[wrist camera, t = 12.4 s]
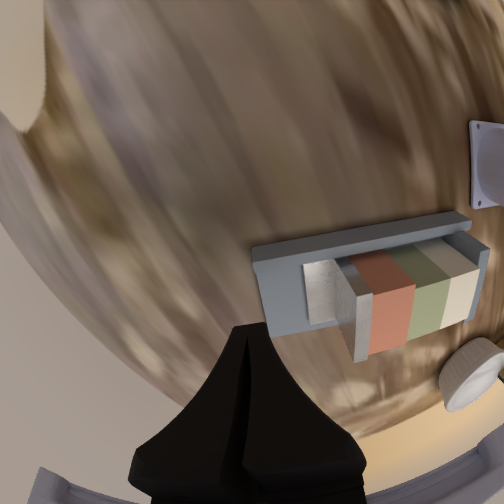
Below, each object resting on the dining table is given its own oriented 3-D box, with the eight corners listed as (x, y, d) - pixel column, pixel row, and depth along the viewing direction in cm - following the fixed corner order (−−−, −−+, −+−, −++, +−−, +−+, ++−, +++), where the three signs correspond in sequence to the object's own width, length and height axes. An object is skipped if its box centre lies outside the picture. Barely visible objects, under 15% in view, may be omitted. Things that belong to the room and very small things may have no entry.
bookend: (344, 252, 19) (373, 292, 14) (346, 312, 21) (367, 359, 16) (301, 260, 19) (318, 304, 14) (308, 320, 22) (322, 370, 17)
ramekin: (490, 315, 25) (512, 339, 20) (489, 356, 28) (504, 377, 24) (427, 365, 27) (444, 394, 22) (435, 396, 31) (447, 420, 26)
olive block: (412, 244, 19) (451, 278, 14) (408, 290, 21) (439, 329, 16) (380, 251, 19) (415, 288, 14) (378, 298, 21) (406, 341, 16)
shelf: (454, 210, 19) (499, 236, 13) (445, 287, 22) (478, 322, 17) (251, 247, 20) (252, 292, 15) (269, 330, 23) (274, 383, 18)
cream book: (440, 238, 19) (480, 268, 14) (434, 283, 21) (467, 318, 16) (412, 244, 19) (451, 278, 14) (408, 290, 21) (439, 329, 16)
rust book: (380, 247, 19) (415, 284, 14) (378, 300, 21) (405, 343, 16) (344, 254, 19) (372, 295, 14) (345, 308, 21) (367, 355, 16)
